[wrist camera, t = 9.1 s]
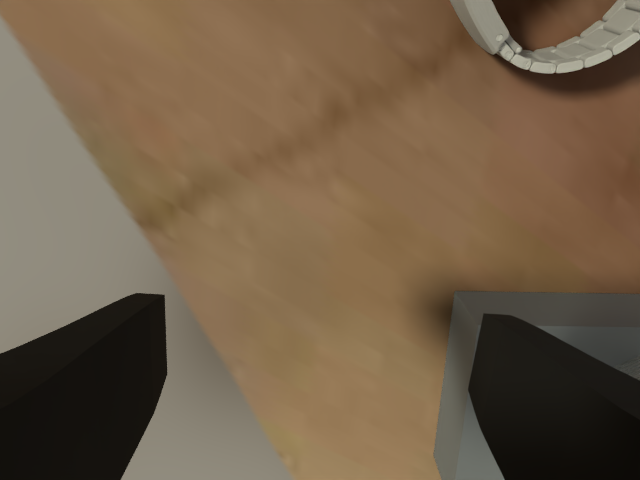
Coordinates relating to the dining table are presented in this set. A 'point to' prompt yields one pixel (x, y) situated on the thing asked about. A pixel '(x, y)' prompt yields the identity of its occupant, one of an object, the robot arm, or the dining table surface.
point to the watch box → (545, 313)
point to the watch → (585, 51)
